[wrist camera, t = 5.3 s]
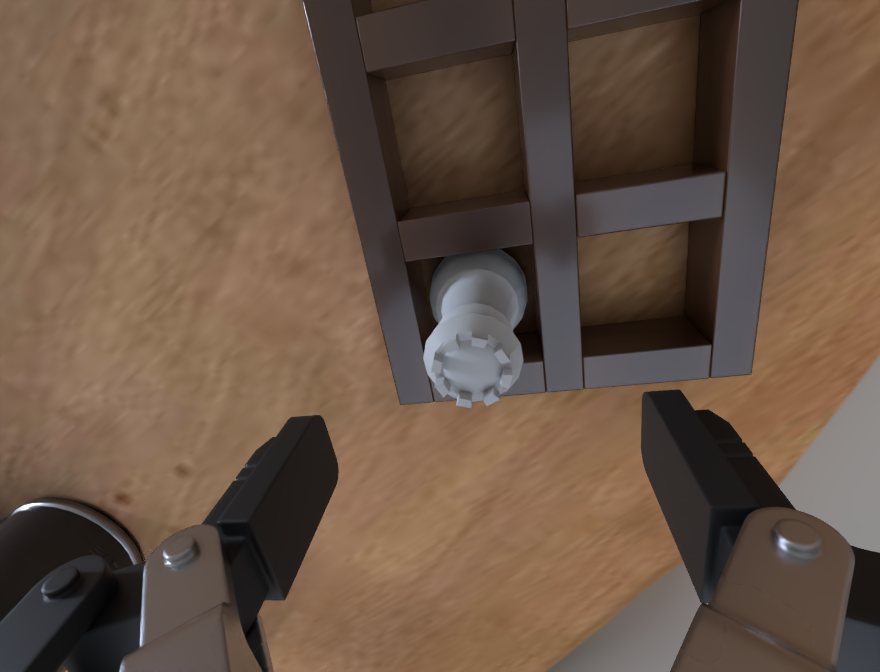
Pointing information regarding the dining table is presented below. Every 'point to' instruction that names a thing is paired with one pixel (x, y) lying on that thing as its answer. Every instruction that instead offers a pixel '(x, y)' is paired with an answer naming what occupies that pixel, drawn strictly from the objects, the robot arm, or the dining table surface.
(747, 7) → the open grid frame
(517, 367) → the rook chess piece
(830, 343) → the dining table surface
